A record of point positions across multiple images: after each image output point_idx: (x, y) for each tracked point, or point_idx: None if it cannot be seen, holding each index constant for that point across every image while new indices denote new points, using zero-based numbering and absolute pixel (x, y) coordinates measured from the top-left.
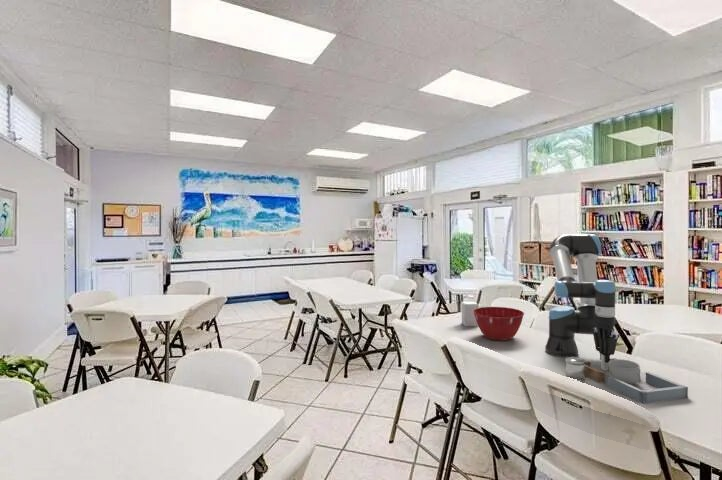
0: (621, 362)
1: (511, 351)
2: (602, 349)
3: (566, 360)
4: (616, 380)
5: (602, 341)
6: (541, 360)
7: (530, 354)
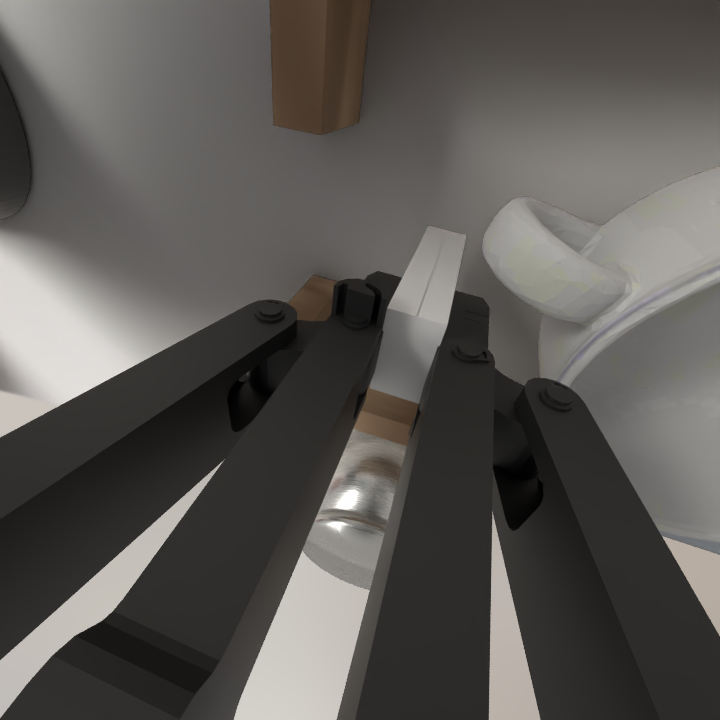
0: (685, 271)
1: (9, 363)
2: (352, 419)
3: (343, 577)
4: (697, 545)
5: (282, 586)
6: (127, 362)
7: (33, 328)
